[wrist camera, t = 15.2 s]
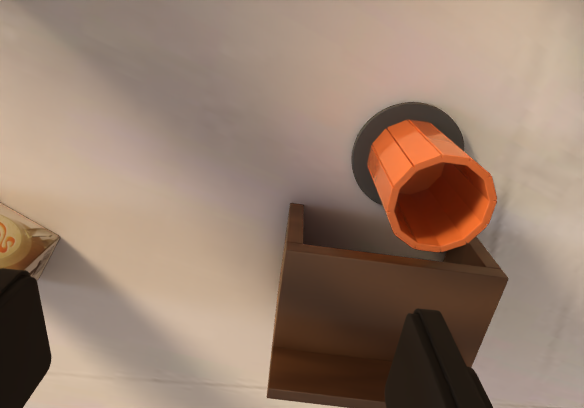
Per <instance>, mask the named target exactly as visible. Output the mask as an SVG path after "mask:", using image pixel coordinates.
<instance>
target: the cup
mask: <svg viewBox="0 0 584 408" xmlns="http://www.w3.org/2000/svg"><path fill="white" fill-rule="evenodd" d="M387 129H388V130H387ZM387 129H385V130H384V131H383V132H382V133H381V134H380V135H379V136H378V138H377V139H376V140H375V141H374V142H373V143H372V145H371V149H370V153H369V158H368V162H367V165H368V169H369V172H370V175H371V178H372V180H373V183H374V185H375V188H376V190H377V193H378V195H379V198H380V200H381V203H382V205H383V208H384V210H385V213H386V215H387V218H388V220H389V223H390V225H391V228H392V230H393V233H394V234H395V236H397V237H398V238H399V239H401V240H402V241H404V242H405V243H406V244H408V245H409V246H410V247H412V248H413V249H414V248H415V249H416V250H424V251H432V252H440V251H441V252H444V251H447V250H450V249H454V248H457V247H460V246H463V245H466V242H467V243H469V242H470V241H471V240H472V239H473V238H475V237H476V236H477V235H478V234H479V233H480V232H481V231H482V230H483V229H485V228H486V227H487V225H486V224H489V222H490V219H491V216H492V214H493V211H494V208H495V205H496V203H497V201H496V200H497V196H496V192H495V187H494V183H493V179H492V176H491V174H490V173H489V172H487V171H486V170H485V169H484V168H483V167H482V166H480V165H479V164H478V163H477V162H476V161H475V160H473V159H472V158H471V157H470V156H469V155H468V154H466V153H465V152H464V151H463V150H462V149H461V148H459V147H458V146H457V145H456V144H455V143H454V142H452V141H451V140H450V139H449V138H448V137H446V136H445V135H444V134H443V133H442V132H441V131H439V130H438V129H437V128H436V127H435V126H433V125H432V124H431V123H429V122H424V121H416V120H405V121H402V122H400V123H397V124H394V125H392V126H389V127H387Z"/></svg>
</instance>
